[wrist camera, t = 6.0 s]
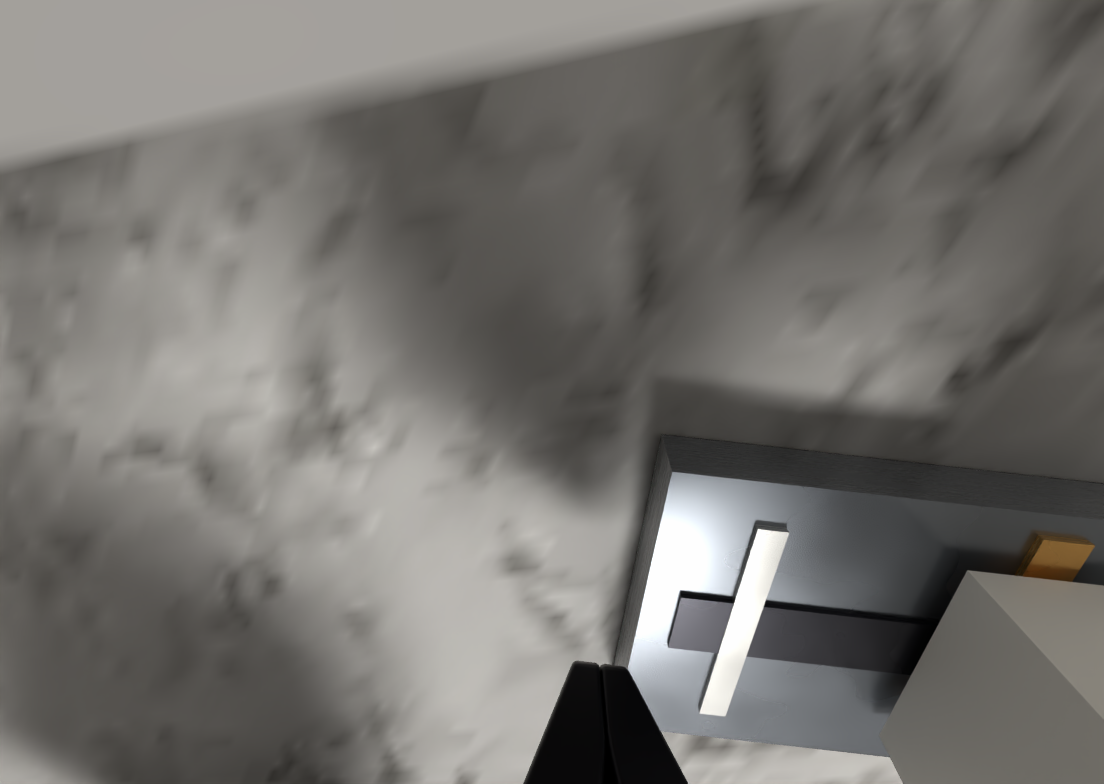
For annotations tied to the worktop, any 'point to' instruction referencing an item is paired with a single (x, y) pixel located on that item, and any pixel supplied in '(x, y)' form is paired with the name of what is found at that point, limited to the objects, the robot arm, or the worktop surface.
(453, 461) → the worktop surface
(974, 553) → the panel
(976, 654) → the block
